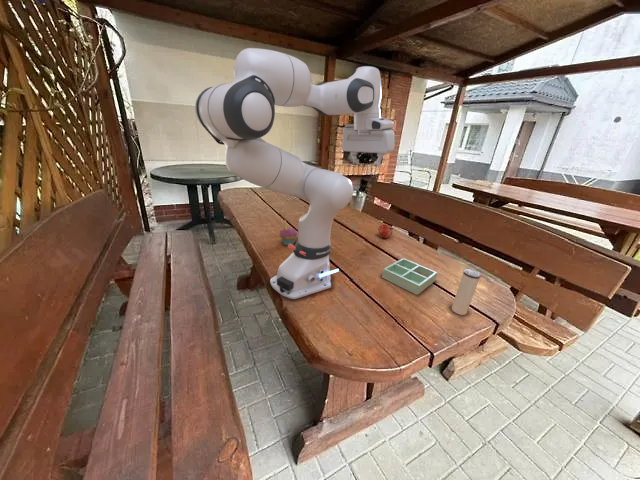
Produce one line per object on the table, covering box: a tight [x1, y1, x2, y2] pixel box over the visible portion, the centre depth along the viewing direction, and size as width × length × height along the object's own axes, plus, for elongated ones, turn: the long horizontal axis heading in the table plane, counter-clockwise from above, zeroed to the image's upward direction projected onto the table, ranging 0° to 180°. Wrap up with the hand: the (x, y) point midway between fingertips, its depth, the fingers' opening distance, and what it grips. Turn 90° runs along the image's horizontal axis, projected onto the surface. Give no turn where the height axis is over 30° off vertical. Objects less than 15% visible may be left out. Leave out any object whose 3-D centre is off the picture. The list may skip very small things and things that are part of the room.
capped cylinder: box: [451, 268, 482, 316], centre depth 81 cm, size 5×5×14 cm
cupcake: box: [278, 220, 298, 246], centre depth 119 cm, size 9×8×12 cm
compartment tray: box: [381, 257, 438, 296], centre depth 98 cm, size 14×14×4 cm
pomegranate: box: [376, 223, 394, 239], centre depth 134 cm, size 7×7×10 cm
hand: (366, 165), depth 95 cm, fingers open, 8 cm apart
